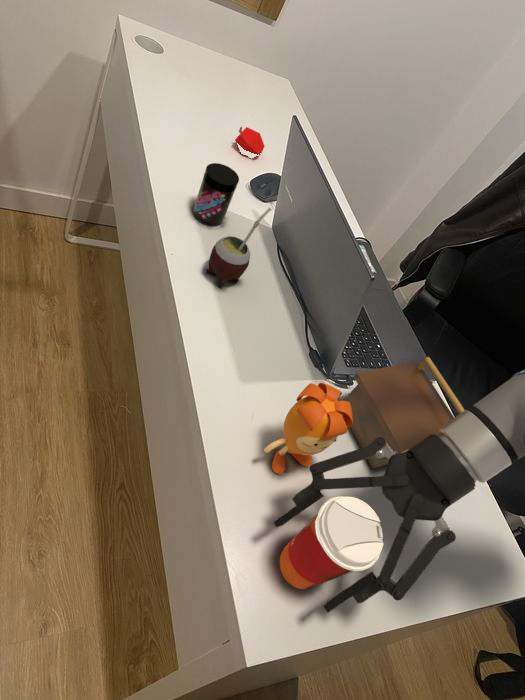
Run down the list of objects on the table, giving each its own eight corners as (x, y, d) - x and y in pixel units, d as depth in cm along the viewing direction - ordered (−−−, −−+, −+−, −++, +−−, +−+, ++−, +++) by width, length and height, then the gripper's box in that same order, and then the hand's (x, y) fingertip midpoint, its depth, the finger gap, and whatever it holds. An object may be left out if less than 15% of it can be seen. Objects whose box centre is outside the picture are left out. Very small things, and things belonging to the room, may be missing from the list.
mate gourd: (201, 283, 91) (226, 219, 80) (207, 256, 96) (231, 192, 85) (239, 296, 92) (269, 235, 81) (243, 268, 97) (271, 208, 87)
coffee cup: (325, 537, 69) (382, 497, 58) (330, 602, 64) (393, 571, 53) (269, 529, 67) (318, 486, 56) (270, 595, 62) (323, 562, 51)
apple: (275, 139, 123) (252, 113, 121) (263, 153, 120) (240, 127, 117) (259, 154, 129) (237, 130, 126) (248, 168, 125) (225, 144, 122)
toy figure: (261, 485, 70) (306, 437, 59) (243, 436, 74) (281, 382, 63) (328, 468, 76) (379, 421, 65) (307, 423, 80) (352, 372, 69)
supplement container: (187, 205, 103) (200, 162, 95) (216, 205, 107) (231, 163, 99) (199, 227, 100) (213, 184, 93) (228, 226, 104) (244, 185, 96)
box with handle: (430, 456, 85) (476, 423, 77) (370, 476, 78) (413, 442, 70) (389, 388, 92) (427, 351, 83) (330, 401, 85) (366, 361, 76)
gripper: (520, 543, 56) (361, 647, 59) (396, 385, 65) (261, 482, 67) (535, 552, 49) (354, 670, 52) (394, 374, 58) (243, 482, 60)
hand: (301, 564), depth 59 cm, fingers open, 10 cm apart
